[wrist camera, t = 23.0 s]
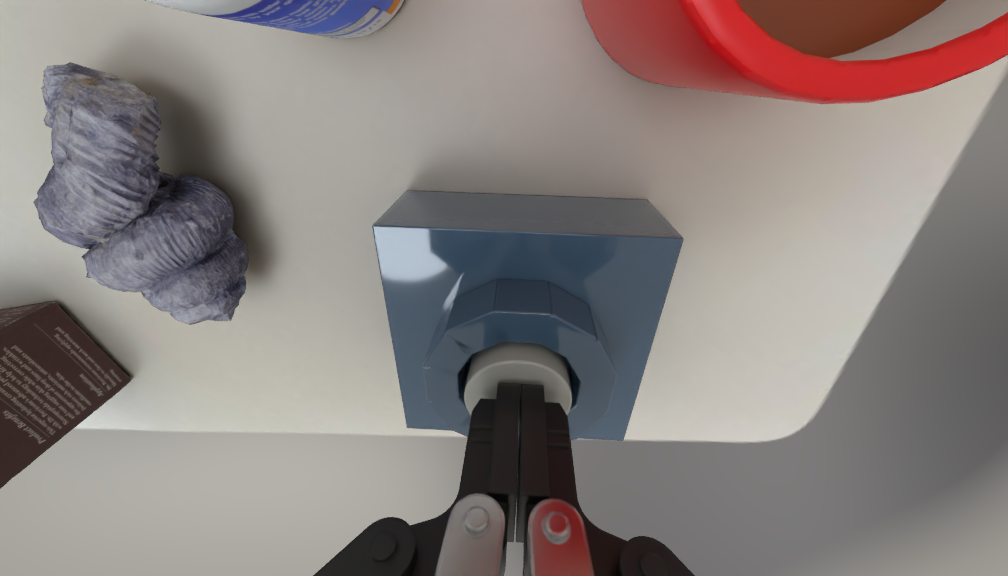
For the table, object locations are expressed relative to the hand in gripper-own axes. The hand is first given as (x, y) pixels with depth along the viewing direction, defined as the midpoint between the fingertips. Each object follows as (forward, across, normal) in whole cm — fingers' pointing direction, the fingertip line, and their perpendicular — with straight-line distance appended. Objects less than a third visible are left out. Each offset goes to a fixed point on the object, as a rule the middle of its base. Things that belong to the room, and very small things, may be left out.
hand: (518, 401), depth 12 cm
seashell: (+7, +14, -4) cm, 16 cm away
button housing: (+6, 0, 0) cm, 7 cm away
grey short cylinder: (+2, 0, 0) cm, 2 cm away
